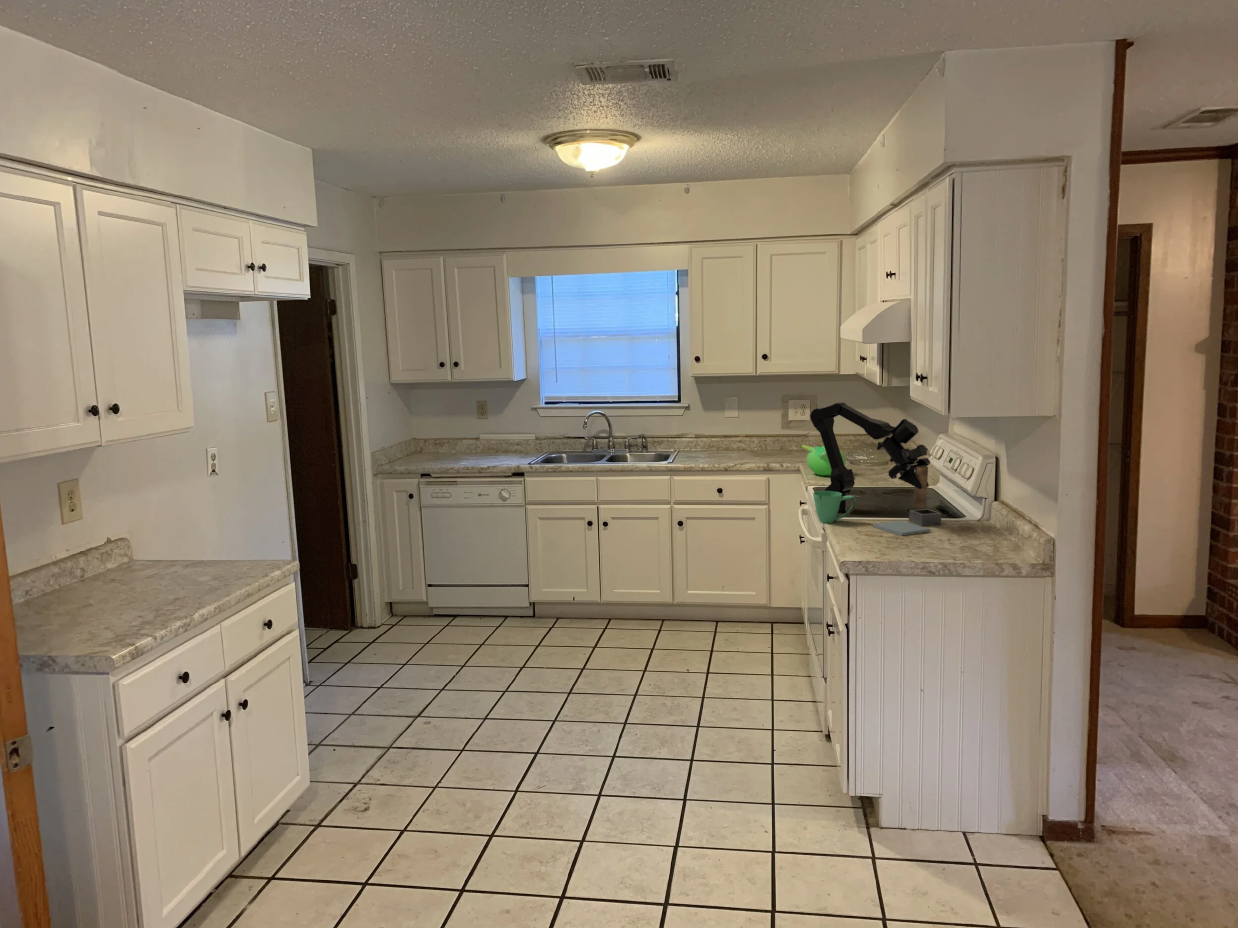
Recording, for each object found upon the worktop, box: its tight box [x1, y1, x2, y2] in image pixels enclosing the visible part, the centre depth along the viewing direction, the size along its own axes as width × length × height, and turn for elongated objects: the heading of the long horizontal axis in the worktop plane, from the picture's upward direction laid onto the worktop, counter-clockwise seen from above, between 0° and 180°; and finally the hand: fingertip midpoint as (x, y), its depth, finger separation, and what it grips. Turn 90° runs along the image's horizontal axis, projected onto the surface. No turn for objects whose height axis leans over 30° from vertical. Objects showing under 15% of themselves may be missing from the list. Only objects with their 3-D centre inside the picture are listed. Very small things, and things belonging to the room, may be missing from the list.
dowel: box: [913, 466, 929, 510], centre depth 301 cm, size 4×4×14 cm
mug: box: [812, 490, 857, 524], centre depth 309 cm, size 15×10×10 cm
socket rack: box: [908, 508, 942, 527], centre depth 306 cm, size 8×8×4 cm
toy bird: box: [801, 444, 846, 477], centre depth 401 cm, size 18×17×15 cm
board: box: [872, 520, 931, 537], centre depth 298 cm, size 14×12×1 cm
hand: (924, 487), depth 300 cm, fingers closed on dowel, 4 cm apart
